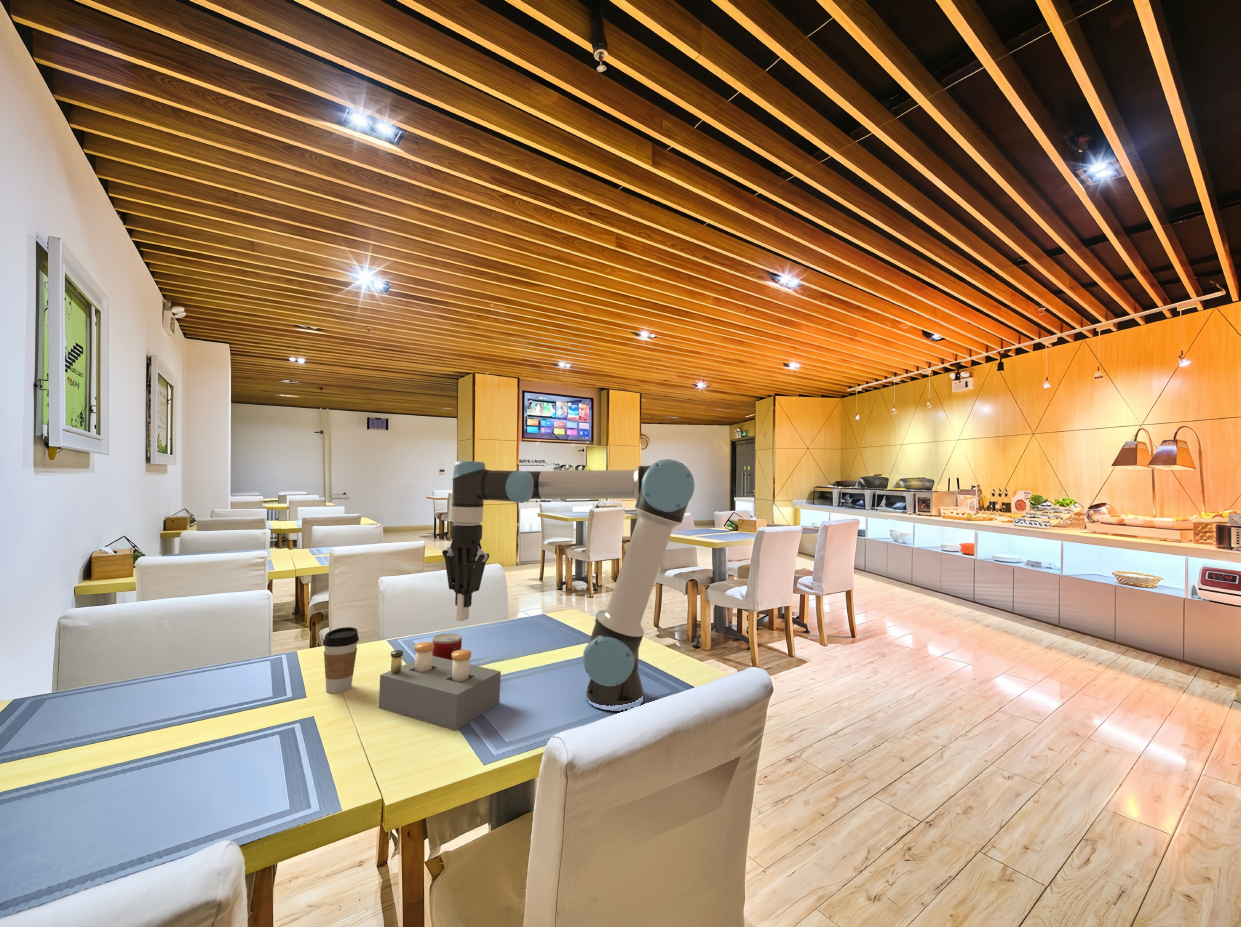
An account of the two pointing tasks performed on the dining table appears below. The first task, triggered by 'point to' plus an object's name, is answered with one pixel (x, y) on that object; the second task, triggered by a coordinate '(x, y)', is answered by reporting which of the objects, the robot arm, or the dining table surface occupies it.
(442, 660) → the grey vial rack
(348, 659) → the coffee cup
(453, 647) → the canned food
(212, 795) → the dining table surface
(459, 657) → the knob
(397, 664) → the small capped vial
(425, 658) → the knob
